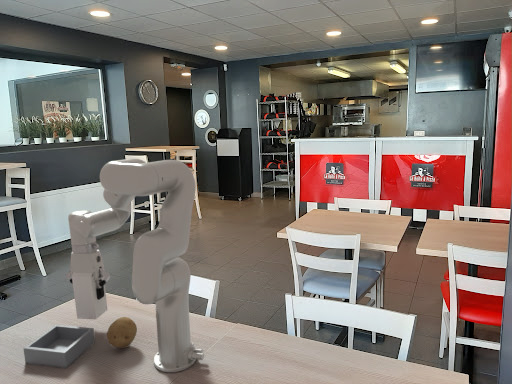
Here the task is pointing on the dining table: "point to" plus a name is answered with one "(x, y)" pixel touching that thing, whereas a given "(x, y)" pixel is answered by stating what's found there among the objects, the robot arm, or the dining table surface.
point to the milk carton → (87, 296)
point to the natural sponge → (122, 332)
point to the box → (59, 346)
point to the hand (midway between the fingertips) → (90, 297)
